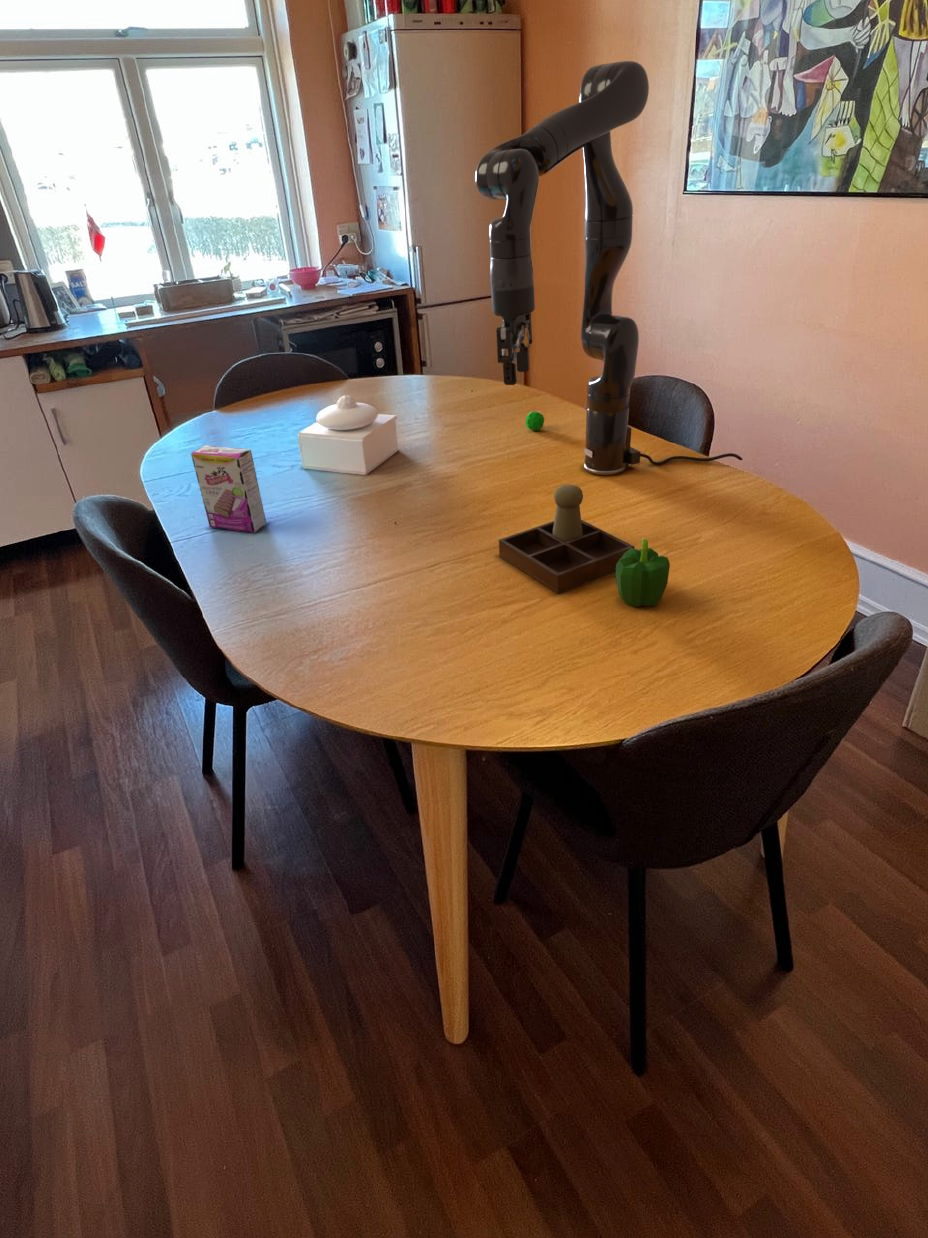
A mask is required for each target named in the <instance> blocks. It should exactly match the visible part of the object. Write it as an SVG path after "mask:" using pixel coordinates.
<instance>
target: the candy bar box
mask: <svg viewBox="0 0 928 1238" xmlns="http://www.w3.org/2000/svg"><path fill="white" fill-rule="evenodd" d="M190 456H191V460H192V464H193V467H194V471H195V475H196V479H197V483H198V487H199V490H200V494H201V495H200V496H201V499H202V502H203V506H204V510H205V514H206V518H207V522H208V526H209V528H210V529H220V530H225V531H226V530H227V531H235V532H242V533H243V532H245V533H252V534H255V533H257V532H259V530H261V529H262V528H263V527H264V526H266V525H267V520H266V513H265V509H264V506H263V505H264V504H263V501H262V496H261V491H260V487H259V482H258V478H257V471H256V468H255V463H254V458H253V453H252V449H248V448H239V447H238V448H237V447H228V446H227V447H226V446H216V445H203V446H201V447H199V448H197V449H196V450H193V451H192V452H191V453H190Z"/></svg>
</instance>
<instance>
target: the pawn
mask: <svg viewBox="0 0 928 1238" xmlns="http://www.w3.org/2000/svg"><path fill="white" fill-rule="evenodd" d="M583 500H584V493H583V490H582V488H581V487H579V486H577V485H574V484H563V485H560V486H558V487H557V488H556V489H555V491H554V492H553V501H554V503H555V504H556V509H555V515H554V520H553V521H554V526H553V533H552V535H554V536H556V537H558V538H560V539H561V540H563V541H565V542H567V541H570V540H572V539H575V538H578V537H581V536H583V533H582V524H581V520H582V517H581V515H582V514H581V506H580V505H581V504H582V503H583Z"/></svg>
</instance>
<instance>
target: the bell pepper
mask: <svg viewBox="0 0 928 1238" xmlns="http://www.w3.org/2000/svg"><path fill="white" fill-rule="evenodd" d="M640 541H641V542H640V543H641V549H636V548H634V549H633V548H630V549H629V550H628V551H627V552H625V553H624V555H623V556H622V558H620V559H619V561H618V563H617V565H616V571H615V579H616V586H617V589H618V595H619V596H620V598H621V599H622V601H623V602H624V603H625V604H626V605H628V606H631V607H632V608H633V607H635V608H640V607H642V606H646V607H654V606H656V605H657V604H658V603H659V602H660V601H661V600H662V598H663V596H664V594H665V591H666V589H667V586H668V582H669V575H670V567H671V563H670V560H669V558H668V557H667V556H664V555H659V553H658V552H657V551H656V550H654V549H653V548H652V547H649V540H647V538H642V539H641V540H640Z"/></svg>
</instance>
